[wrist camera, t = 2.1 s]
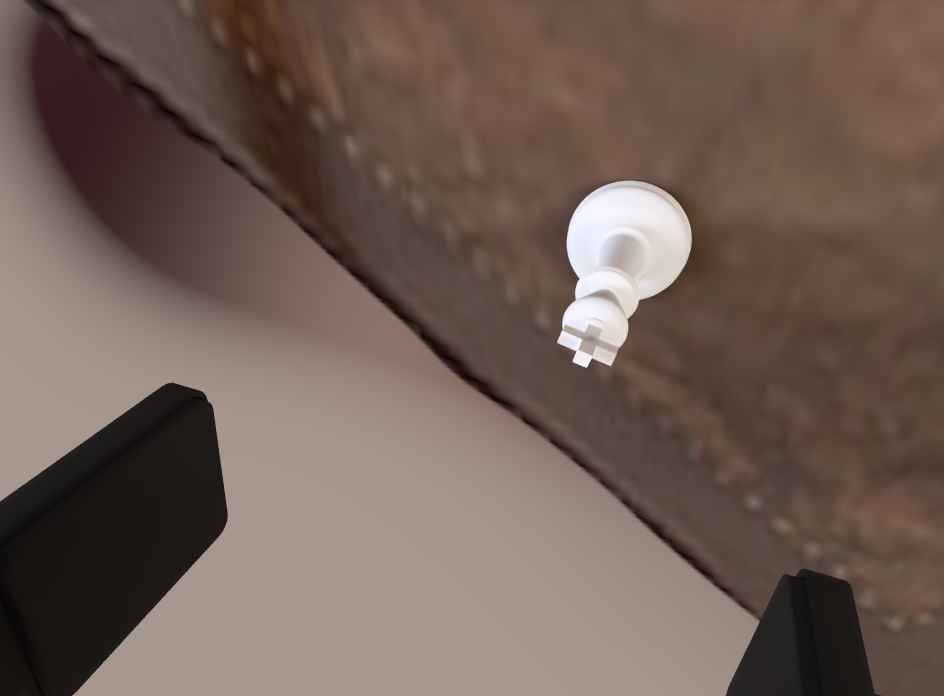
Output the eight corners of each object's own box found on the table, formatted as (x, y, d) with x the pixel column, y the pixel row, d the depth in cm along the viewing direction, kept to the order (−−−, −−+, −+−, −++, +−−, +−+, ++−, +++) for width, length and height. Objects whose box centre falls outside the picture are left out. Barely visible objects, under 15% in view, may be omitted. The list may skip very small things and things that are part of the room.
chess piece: (658, 314, 28) (628, 456, 19) (551, 268, 28) (478, 388, 20) (714, 208, 25) (706, 323, 17) (594, 161, 26) (530, 249, 17)
